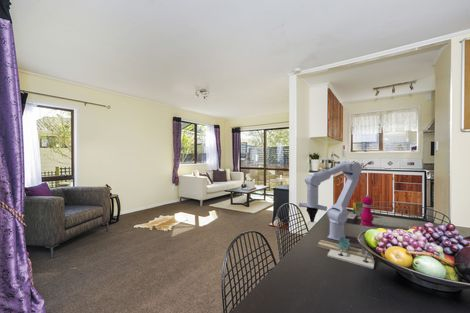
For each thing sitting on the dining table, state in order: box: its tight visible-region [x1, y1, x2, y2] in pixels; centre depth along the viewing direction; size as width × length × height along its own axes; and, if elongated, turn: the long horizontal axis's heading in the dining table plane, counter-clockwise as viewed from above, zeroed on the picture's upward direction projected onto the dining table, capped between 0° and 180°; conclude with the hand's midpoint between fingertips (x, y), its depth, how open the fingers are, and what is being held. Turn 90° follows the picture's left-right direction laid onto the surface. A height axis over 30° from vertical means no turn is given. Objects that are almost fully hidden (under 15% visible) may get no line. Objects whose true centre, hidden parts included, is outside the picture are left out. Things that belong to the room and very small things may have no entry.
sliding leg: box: [338, 237, 351, 255], centre depth 103 cm, size 10×4×4 cm, turn 144°
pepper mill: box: [360, 194, 374, 227], centre depth 142 cm, size 7×7×20 cm
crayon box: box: [352, 200, 364, 217], centre depth 163 cm, size 7×3×12 cm, turn 99°
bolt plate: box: [326, 249, 375, 270], centre depth 97 cm, size 7×18×1 cm, turn 54°
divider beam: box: [317, 239, 375, 261], centre depth 103 cm, size 11×24×5 cm, turn 54°
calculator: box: [345, 212, 359, 225], centre depth 153 cm, size 11×4×15 cm
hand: (312, 221), depth 117 cm, fingers closed
